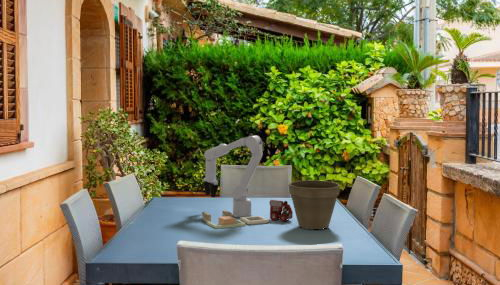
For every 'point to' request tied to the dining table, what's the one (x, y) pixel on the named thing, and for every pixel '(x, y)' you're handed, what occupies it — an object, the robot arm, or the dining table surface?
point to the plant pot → (314, 202)
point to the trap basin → (254, 220)
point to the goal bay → (227, 225)
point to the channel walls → (207, 216)
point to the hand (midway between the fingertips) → (210, 196)
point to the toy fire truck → (280, 210)
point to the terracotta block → (226, 220)
